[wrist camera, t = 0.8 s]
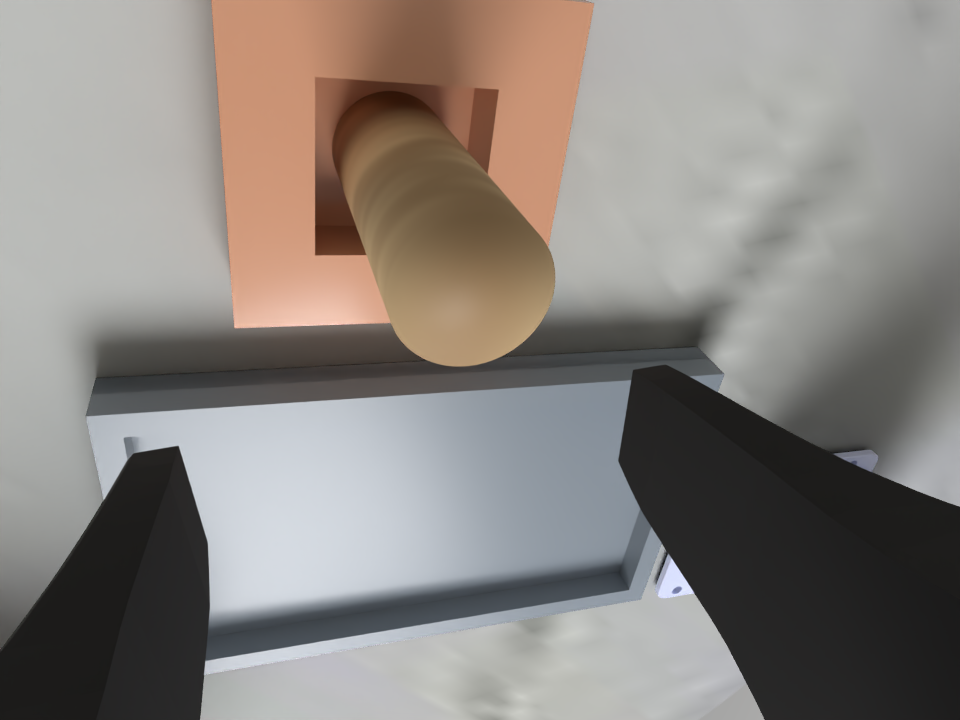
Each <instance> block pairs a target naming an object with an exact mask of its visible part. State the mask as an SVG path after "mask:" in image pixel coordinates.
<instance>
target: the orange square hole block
mask: <svg viewBox="0 0 960 720" xmlns="http://www.w3.org/2000/svg"><path fill="white" fill-rule="evenodd" d="M211 2H212V17H213V31H214V45H215V59H216V74H217V88H218V102H219V116H220V131H221V145H222V159H223V173H224V187H225V202H226V216H227V230H228V244H229V259H230V273H231V287H232V301H233V316H234V328H258V327H287V326H315V325H344V324H373V323H391V322H390V319H389V316H388V313H387V311H386V308H385V305H384V302H383V299H382V297H381V294H380V291H379V288H378V286H377V283H376V280H375V277H374V274H373V272H372V269H371V266H370V263H369V260H368V258H367V255H366V252H365V249H364V247H363V244H362V241H361V238H360V235H359V233H358V230H357V227H356V224H355V221H354V219H353V216H352V213H351V210H350V208H349V205H348V202H347V199H346V196H345V194H344V191H343V188H342V185H341V182H340V180H339V177H338V174H337V171H336V168H335V165H334V162H333V156H332V142H333V136H334V132H335V130H336V127H337V125H338V123H339V121H340V119H341V117H342V116H343V114H344V113H345V112H346V111H347V110H348V109H349V108H350V106H352V105H353V104H354V103H355V102H357V101H358V100H360V99H361V98H363V97H365V96H367V95H370V94H373V93H376V92H382V91H398V92H403V93H407V94H410V95H412V96H414V97H416V98H418V99H420V100H421V101H423V102H424V103H425V104H427V105H428V106H429V107H430V108H431V109H432V110H433V112H434V113H435V114H436V115H437V116H438V117H439V119H440V120H441V121H442V122H443V123H444V124H445V125H446V127H447V128H448V129H449V130H450V131H451V132H452V134H453V135H454V136H455V137H456V138H457V139H458V141H459V142H460V143H461V144H462V145H463V146H464V148H465V149H466V150H467V151H468V152H469V153H470V155H471V156H472V157H473V158H474V159H475V160H476V161H477V163H478V164H479V165H480V166H481V167H482V168H483V170H484V171H485V172H486V173H487V174H488V175H489V177H490V178H491V179H492V180H493V181H494V182H495V184H496V185H497V186H498V187H499V188H500V189H501V191H502V192H503V193H504V194H505V195H506V196H507V197H508V199H509V200H510V201H511V202H512V203H513V204H514V206H515V207H516V208H517V209H518V210H519V211H520V213H521V214H522V215H523V216H524V217H525V218H526V220H527V221H528V222H529V223H530V224H531V225H532V227H533V228H534V229H535V230H536V231H537V232H538V233H539V235H540V236H541V237H542V239H543V240H544V241H545V243H546V244H547V246H548V245H549V240H550V235H551V229H552V224H553V219H554V213H555V208H556V203H557V198H558V192H559V187H560V182H561V176H562V171H563V166H564V161H565V155H566V150H567V145H568V140H569V134H570V129H571V124H572V118H573V113H574V108H575V103H576V97H577V92H578V87H579V81H580V76H581V71H582V66H583V60H584V55H585V50H586V44H587V39H588V34H589V29H590V23H591V18H592V13H593V7H594V3H591V2H589V1H586V0H211Z"/></svg>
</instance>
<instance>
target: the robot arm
mask: <svg viewBox="0 0 960 720" xmlns="http://www.w3.org/2000/svg"><path fill="white" fill-rule="evenodd" d="M877 461H878V455H877V454H875V453H874V452H873V451H872V450H862V451H853V452H844V453H835V454H832V453H830V452H828V451H826V450H824V449H822V448H820V447H818V446H816V445H813V444H811V443H809V442H807V441H806V440H804V439H802V438H800V437H798V436H796V435H794V434H792V433H790V432H788V431H786V430H785V429H783V428H781V427H779V426H777V425H775V424H773V423H772V422H770V421H768V420H766V419H764V418H763V417H761V416H759V415H757V414H755V413H754V412H752V411H750V410H748V409H746V408H745V407H743V406H741V405H739V404H738V403H736V402H734V401H732V400H731V399H729V398H727V397H725V396H724V395H722V394H720V393H718V392H716V391H715V390H713V389H711V388H709V387H708V386H706V385H704V384H702V383H700V382H699V381H697V380H695V379H693V378H691V377H690V376H688V375H686V374H684V373H682V372H680V371H678V370H676V369H674V368H672V367H670V366H668V365H666V364H665V365H659V366H653V367H647V368H641V369H635V370H633V372H632V379H631V385H630V391H629V397H628V403H627V409H626V415H625V421H624V428H623V434H622V440H621V446H620V452H619V458H618V462H619V464H620V467H621V469H622V471H623V473H624V475H625V478H626V480H627V482H628V484H629V487H630V489H631V491H632V493H633V495H634V497H635V499H636V501H637V503H638V505H639V507H640V509H641V511H642V513H643V514H644V516H645V518H646V519H647V521H648V523H649V524H650V526H651V527H652V529H653V530H654V532H655V533H656V535H657V537H658V538H659V540H660V541H661V543H662V544H663V546H664V547H665V549H666V551H667V552H668V555H667V558H666V561H665V563H664V566H663V569H662V571H661V574H660V576H659V579H658V582H657V584H656V587H655V591H656V593H657V594H658V596H659V597H660V598H669V597H674V596H680V595H686V594H692V593H695V595H696V596H697V598H698V599H699V601H700V603H701V604H702V606H703V607H704V609H705V610H706V612H707V613H708V615H709V616H710V618H711V619H712V621H713V623H714V624H715V626H716V628H717V629H718V631H719V633H720V634H721V636H722V638H723V639H724V641H725V643H726V644H727V646H728V648H729V650H730V652H731V654H732V656H733V658H734V660H735V662H736V664H737V666H738V667H739V669H740V671H741V673H742V675H743V677H744V679H745V681H746V683H747V685H748V687H749V689H750V691H751V693H752V694H753V696H754V698H755V700H756V702H757V705H758V707H759V709H760V711H761V713H762V715H763V717H764V719H765V720H960V507H959V506H956V505H953V504H950V503H947V502H944V501H942V500H939V499H936V498H934V497H931V496H928V495H926V494H923V493H921V492H918V491H915V490H913V489H911V488H908V487H906V486H903V485H901V484H899V483H896V482H894V481H891V480H889V479H887V478H884V477H882V476H880V475H877V474H875V473H873V472H872V470H873V469H874V467H875V465H876V463H877ZM209 613H210V584H209V557H208V541H207V538H206V535H205V531H204V528H203V525H202V521H201V518H200V515H199V511H198V508H197V505H196V501H195V498H194V495H193V492H192V488H191V485H190V482H189V478H188V475H187V472H186V468H185V465H184V462H183V458H182V455H181V452H180V448H179V446H173V447H167V448H161V449H155V450H149V451H143V452H137V453H133V454H132V455H131V457H130V458H129V459H128V460H127V461H126V463H125V465H124V467H123V468H122V470H121V472H120V474H119V475H118V477H117V479H116V480H115V482H114V484H113V486H112V487H111V489H110V491H109V492H108V494H107V496H106V497H105V499H104V501H103V502H102V504H101V506H100V507H99V509H98V511H97V512H96V514H95V515H94V517H93V519H92V520H91V522H90V523H89V525H88V527H87V528H86V530H85V531H84V533H83V534H82V536H81V538H80V539H79V541H78V542H77V544H76V545H75V547H74V548H73V550H72V551H71V553H70V554H69V556H68V557H67V559H66V560H65V562H64V563H63V565H62V566H61V568H60V569H59V571H58V572H57V574H56V575H55V577H54V578H53V580H52V581H51V582H50V584H49V585H48V587H47V588H46V589H45V591H44V592H43V593H42V595H41V596H40V598H39V599H38V600H37V602H36V603H35V604H34V606H33V607H32V608H31V610H30V611H29V613H28V614H27V615H26V617H25V618H24V619H23V621H22V622H21V623H20V625H19V626H18V628H17V629H16V630H15V632H14V633H13V634H12V636H11V637H10V638H9V640H8V641H7V642H6V643H5V645H4V646H3V647H2V648H1V650H0V720H200V714H201V703H202V692H203V681H204V671H205V660H206V648H207V637H208V626H209Z"/></svg>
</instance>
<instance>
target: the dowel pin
mask: <svg viewBox="0 0 960 720" xmlns="http://www.w3.org/2000/svg"><path fill="white" fill-rule="evenodd" d="M332 156H333V162H334V165H335V168H336V171H337V174H338V177H339V180H340V182H341V185H342V188H343V191H344V194H345V196H346V199H347V202H348V205H349V208H350V210H351V213H352V216H353V219H354V221H355V224H356V227H357V230H358V233H359V235H360V238H361V241H362V244H363V247H364V249H365V252H366V255H367V258H368V260H369V263H370V266H371V269H372V272H373V274H374V277H375V280H376V283H377V286H378V288H379V291H380V294H381V297H382V299H383V302H384V305H385V308H386V311H387V313H388V316H389V319H390V322H391V325H392V327H393V329H394V331H395V333H396V335H397V336H398V337H399V339H400V340H401V341H402V343H403V344H404V345H405V346H406V347H407V348H408V349H410V350H411V351H412V352H413V353H415V354H416V355H418V356H420V357H421V358H423V359H425V360H428V361H430V362H433V363H436V364H441V365H446V366H472V365H478V364H482V363H486V362H489V361H492V360H495V359H497V358H499V357H501V356H503V355H505V354H507V353H509V352H510V351H512V350H513V349H515V348H516V347H518V346H519V345H520V344H522V343H523V342H524V341H525V340H526V339H527V338H528V337H529V336H530V335H531V334H532V333H533V332H534V331H535V330H536V328H537V327H538V326H539V324H540V323H541V321H542V320H543V318H544V316H545V314H546V313H547V311H548V308H549V306H550V303H551V300H552V297H553V293H554V287H555V268H554V262H553V259H552V255H551V253H550V251H549V248H548V246H547V244H546V243H545V241H544V240H543V239H542V237H541V236H540V235H539V233H538V232H537V231H536V230H535V229H534V228H533V227H532V225H531V224H530V223H529V222H528V221H527V220H526V218H525V217H524V216H523V215H522V214H521V213H520V211H519V210H518V209H517V208H516V207H515V206H514V204H513V203H512V202H511V201H510V200H509V199H508V197H507V196H506V195H505V194H504V193H503V192H502V191H501V189H500V188H499V187H498V186H497V185H496V184H495V182H494V181H493V180H492V179H491V178H490V177H489V175H488V174H487V173H486V172H485V171H484V170H483V168H482V167H481V166H480V165H479V164H478V163H477V161H476V160H475V159H474V158H473V157H472V156H471V155H470V153H469V152H468V151H467V150H466V149H465V148H464V146H463V145H462V144H461V143H460V142H459V141H458V139H457V138H456V137H455V136H454V135H453V134H452V132H451V131H450V130H449V129H448V128H447V127H446V125H445V124H444V123H443V122H442V121H441V120H440V119H439V117H438V116H437V115H436V114H435V113H434V112H433V110H432V109H431V108H430V107H429V106H428V105H427V104H425V103H424V102H423V101H421V100H420V99H418V98H416V97H414V96H412V95H410V94H407V93H403V92H398V91H382V92H376V93H373V94H370V95H367V96H365V97H363V98H361V99H360V100H358V101H357V102H355V103H354V104H353V105H352V106H350V108H349V109H348V110H347V111H346V112H345V113H344V114H343V116H342V117H341V119H340V121H339V123H338V125H337V127H336V130H335V132H334V136H333V142H332Z"/></svg>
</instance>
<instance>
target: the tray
mask: <svg viewBox="0 0 960 720" xmlns="http://www.w3.org/2000/svg"><path fill="white" fill-rule="evenodd" d="M665 364H666V365H668V366H670V367H672V368H674V369H676V370H678V371H680V372H682V373H684V374H686V375H688V376H690V377H691V378H693V379H695V380H697V381H699V382H700V383H702V384H704V385H706V386H708V387H709V388H711V389H713V390H715V391H716V392H718V390H719V387H720V385H721V382H722V379H723V377H724V373H723V372H722V371H721V370H720V369H719V368H718V367H717V366H716V365H715V364H714V363H713V362H712V361H711V360H710V359H709V358H708V357H707V356H706V355H705V354H704V353H703V352H702V351H701V350H700V349H699V348H698V347H687V348H668V349H648V350H629V351H610V352H591V353H572V354H553V355H534V356H514V357H499V358H497V359H495V360H492V361H489V362H486V363H482V364H478V365H472V366H446V365H441V364H436V363H433V362H430V361H419V362H399V363H380V364H361V365H342V366H323V367H304V368H284V369H265V370H246V371H227V372H208V373H189V374H169V375H150V376H131V377H112V378H96V380H95V383H94V387H93V391H92V394H91V398H90V402H89V406H88V409H87V413H86V421H87V425H88V430H89V435H90V439H91V444H92V448H93V453H94V458H95V462H96V467H97V472H98V476H99V481H100V485H101V490H102V495H103V499H105V497H106V496H107V494H108V492H109V491H110V489H111V487H112V486H113V484H114V482H115V480H116V479H117V477H118V475H119V474H120V472H121V470H122V468H123V467H124V465H125V463H126V461H127V460H128V459H129V458H130V457H131V455H132V454H133V453H137V452H143V451H149V450H155V449H161V448H167V447H173V446H179V448H180V452H181V455H182V458H183V462H184V465H185V468H186V472H187V475H188V478H189V482H190V485H191V488H192V492H193V495H194V498H195V501H196V505H197V508H198V511H199V515H200V518H201V521H202V525H203V528H204V531H205V535H206V538H207V541H208V557H209V584H210V613H209V626H208V637H207V648H206V660H205V671H204V675H207V674H212V673H218V672H224V671H230V670H236V669H241V668H247V667H253V666H259V665H264V664H270V663H276V662H282V661H288V660H293V659H299V658H305V657H311V656H317V655H322V654H328V653H334V652H340V651H346V650H351V649H357V648H363V647H369V646H374V645H380V644H386V643H392V642H398V641H403V640H409V639H415V638H421V637H427V636H432V635H438V634H444V633H450V632H456V631H461V630H467V629H473V628H479V627H485V626H490V625H496V624H502V623H508V622H513V621H519V620H525V619H531V618H537V617H542V616H548V615H554V614H560V613H566V612H571V611H577V610H583V609H589V608H595V607H600V606H606V605H612V604H618V603H624V602H629V601H635V600H641V598H642V595H643V592H644V590H645V587H646V584H647V582H648V579H649V576H650V574H651V571H652V568H653V565H654V563H655V560H656V557H657V555H658V552H659V549H660V547H661V544H662V543H661V541H660V540H659V538H658V537H657V535H656V533H655V532H654V530H653V529H652V527H651V526H650V524H649V523H648V521H647V519H646V518H645V516H644V514H643V513H642V511H641V509H640V507H639V505H638V503H637V501H636V499H635V497H634V495H633V493H632V491H631V489H630V487H629V484H628V482H627V480H626V478H625V475H624V473H623V471H622V469H621V467H620V464H619V462H618V458H619V452H620V446H621V440H622V434H623V428H624V421H625V415H626V409H627V403H628V397H629V391H630V385H631V379H632V372H633V370H635V369H641V368H647V367H653V366H659V365H665Z"/></svg>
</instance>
